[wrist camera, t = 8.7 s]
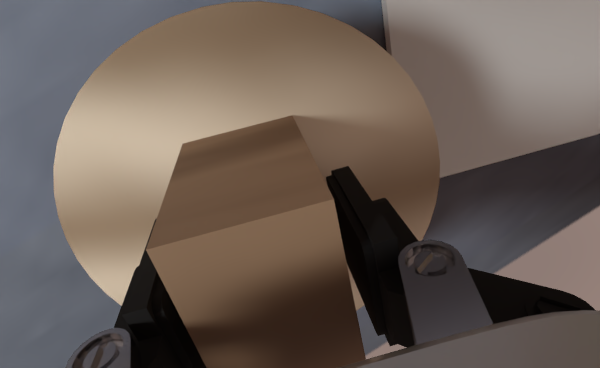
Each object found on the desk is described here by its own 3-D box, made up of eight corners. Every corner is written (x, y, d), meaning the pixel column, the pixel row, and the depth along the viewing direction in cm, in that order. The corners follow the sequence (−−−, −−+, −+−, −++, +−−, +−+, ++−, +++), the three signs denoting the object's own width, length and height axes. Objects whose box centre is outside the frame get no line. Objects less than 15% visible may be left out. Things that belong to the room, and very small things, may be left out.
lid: (-27, 62, 10) (-321, 137, 5) (418, -46, 11) (608, -90, 5) (155, 361, 17) (116, 546, 11) (436, 281, 17) (534, 419, 12)
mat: (369, -112, 14) (374, -116, 14) (685, -189, 15) (702, -196, 14) (400, 182, 20) (405, 187, 20) (623, 120, 21) (634, 124, 20)
